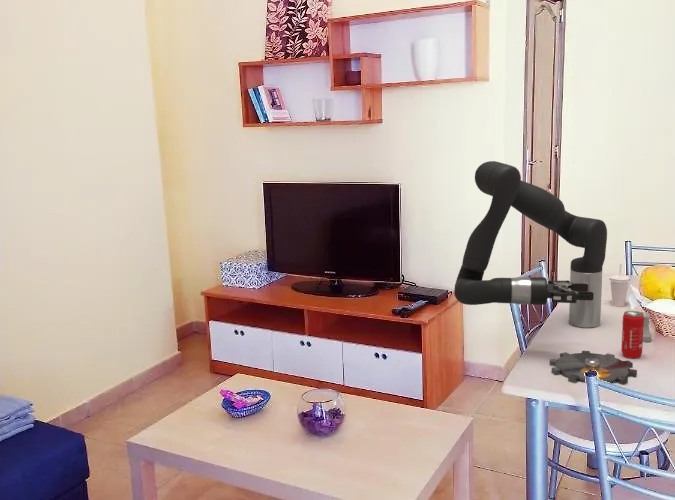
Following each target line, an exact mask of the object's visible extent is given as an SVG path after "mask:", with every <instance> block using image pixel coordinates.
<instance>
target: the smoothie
mask: <svg viewBox="0 0 675 500" xmlns="http://www.w3.org/2000/svg"><path fill="white" fill-rule="evenodd" d="M622 267H623V266H622V264H621V263H620V264H619V272H618V273H619V274H614V275H610V276H609V281H610V292H611V301H612V306H614V307H617V308H618V307H619V308H620V307H625V305H626V299H627V294H628V293H627V292H628V288H629V285H630V284H629V282H630V281H631V277H630V276H628V275H623V274H622Z"/></svg>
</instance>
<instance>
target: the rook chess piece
mask: <svg viewBox="0 0 675 500" xmlns="http://www.w3.org/2000/svg"><path fill="white" fill-rule="evenodd" d="M641 313H643V316H644V328H643V343H649V342H651V341H652V340H653V339H652V335H653V334H652V333H651V331H650V325H649V324H650V319H651V315H650V313H649V312H647V311H645V312H644V311H641Z"/></svg>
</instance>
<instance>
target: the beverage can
mask: <svg viewBox="0 0 675 500" xmlns="http://www.w3.org/2000/svg"><path fill="white" fill-rule="evenodd" d="M621 328H622V329H621V330H622V331H621V353H622V356H623V357H625V358H627V359H634V360H635V359H640V358H641V356H642V354H643V343H644V342H643V328H644V316H643V313H642V311H641V312H640V311H638V310H626V311H624V313H623V315H622V327H621Z"/></svg>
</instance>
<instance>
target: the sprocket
mask: <svg viewBox="0 0 675 500" xmlns="http://www.w3.org/2000/svg"><path fill="white" fill-rule="evenodd" d="M548 363H549V366H553V367H551V373H552V374H553V375H554V376H558V375H561V376H563V377H565V378H567V382H570V383H573V384H577V383H579V382H581V383H585V376H584V373H585V371H587V370H596V371H597V372H598V378H599V379H600V380H603V381H607V382H610V383H609V384H614V383H616V384H619V385H625V384H628V383H629V377H631V378H637V376H638V375H637V374H638V370H637V369H632V368H634V367H633V366H634V365H633V364H634V363H633V362H632V361H631V360H621V359H619V358H617V357H616V356H615V354H612V353H609V352H607V353H606V354H602V353H594V352H591V350H581V352H575V353H567V352H566V351H565V352H561V353H559V357H558V358H550V360H549V362H548ZM636 375H637V376H636ZM613 382H614V383H613Z"/></svg>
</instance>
